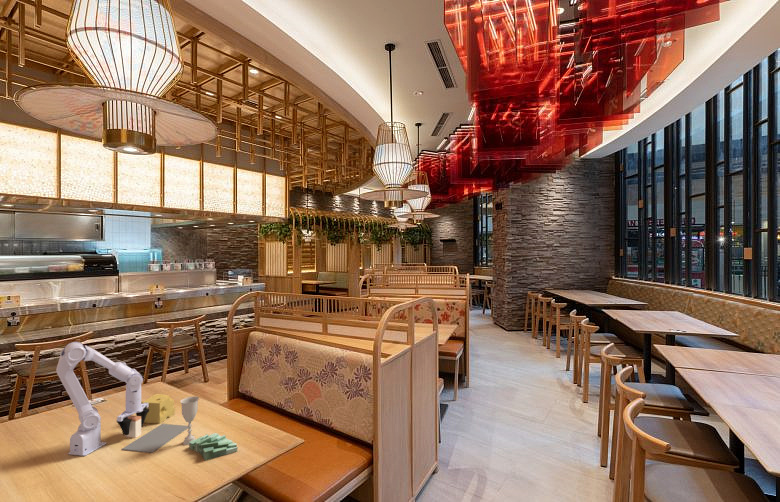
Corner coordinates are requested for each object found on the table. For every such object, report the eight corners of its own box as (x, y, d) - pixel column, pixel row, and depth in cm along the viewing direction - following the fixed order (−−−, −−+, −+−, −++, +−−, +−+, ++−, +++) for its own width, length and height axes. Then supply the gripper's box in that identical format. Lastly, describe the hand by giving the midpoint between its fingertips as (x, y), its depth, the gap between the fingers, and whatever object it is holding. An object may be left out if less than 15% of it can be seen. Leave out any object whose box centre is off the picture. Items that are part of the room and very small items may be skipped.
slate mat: (152, 452, 148) (152, 451, 148) (121, 449, 150) (121, 448, 150) (189, 426, 170) (189, 426, 170) (162, 424, 172) (162, 423, 172)
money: (180, 455, 147) (180, 443, 147) (212, 436, 162) (212, 425, 162) (218, 465, 140) (218, 453, 140) (248, 444, 155) (249, 433, 155)
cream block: (135, 437, 160) (135, 419, 160) (125, 436, 160) (125, 418, 160) (141, 434, 163) (141, 416, 163) (131, 433, 163) (131, 415, 163)
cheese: (175, 414, 183) (175, 394, 182) (159, 424, 172) (159, 403, 172) (155, 413, 184) (155, 393, 184) (138, 423, 173) (138, 402, 173)
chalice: (190, 447, 152) (190, 404, 152) (176, 445, 154) (176, 402, 153) (202, 438, 159) (202, 397, 159) (188, 436, 161) (189, 395, 161)
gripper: (127, 407, 154) (127, 439, 154) (154, 393, 168) (154, 423, 168) (112, 405, 155) (112, 438, 155) (140, 392, 169) (140, 422, 169)
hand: (133, 430), depth 162 cm, fingers open, 7 cm apart
